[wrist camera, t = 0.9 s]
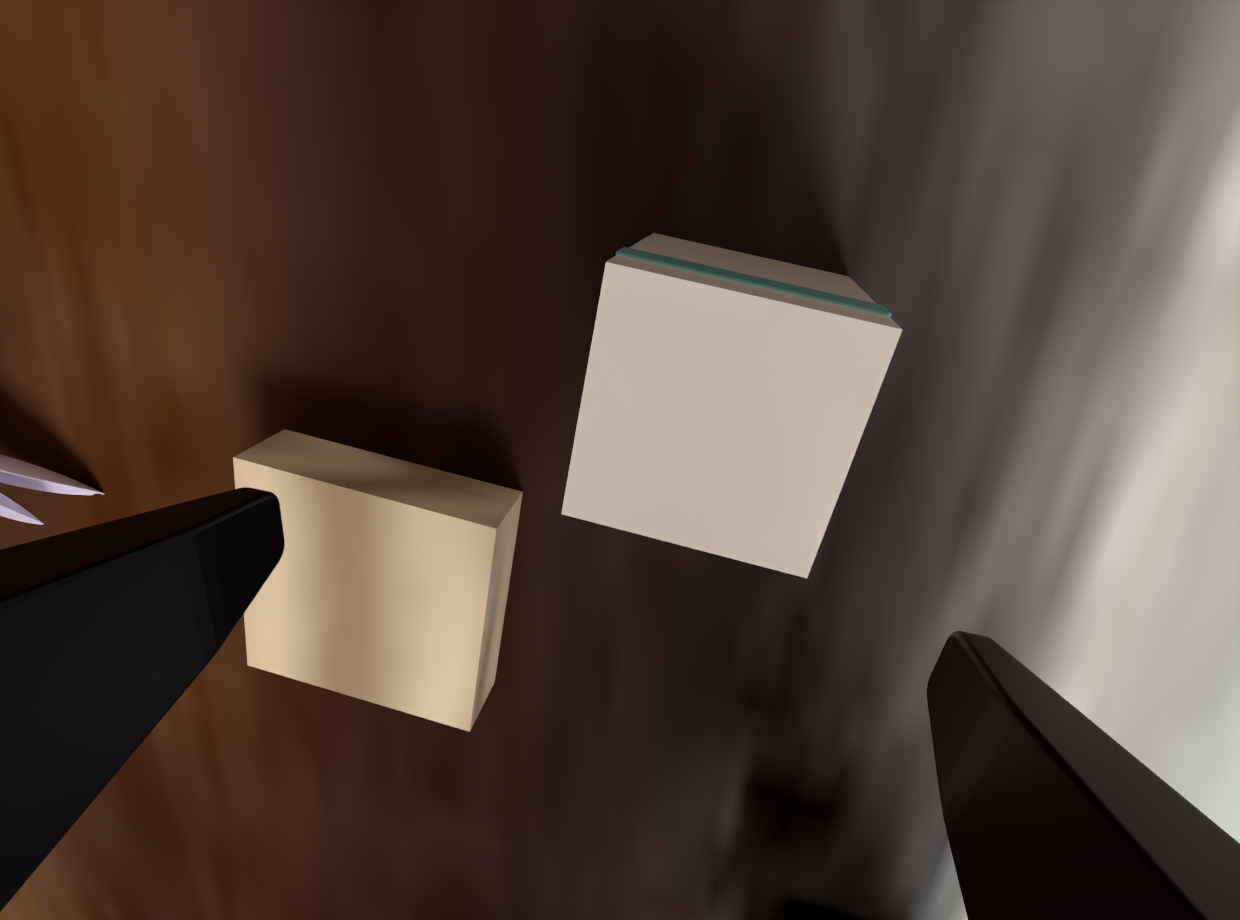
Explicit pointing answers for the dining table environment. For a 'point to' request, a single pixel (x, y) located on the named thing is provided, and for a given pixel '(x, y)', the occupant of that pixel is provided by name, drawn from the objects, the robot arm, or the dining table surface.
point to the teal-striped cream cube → (724, 400)
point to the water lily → (34, 486)
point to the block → (381, 577)
